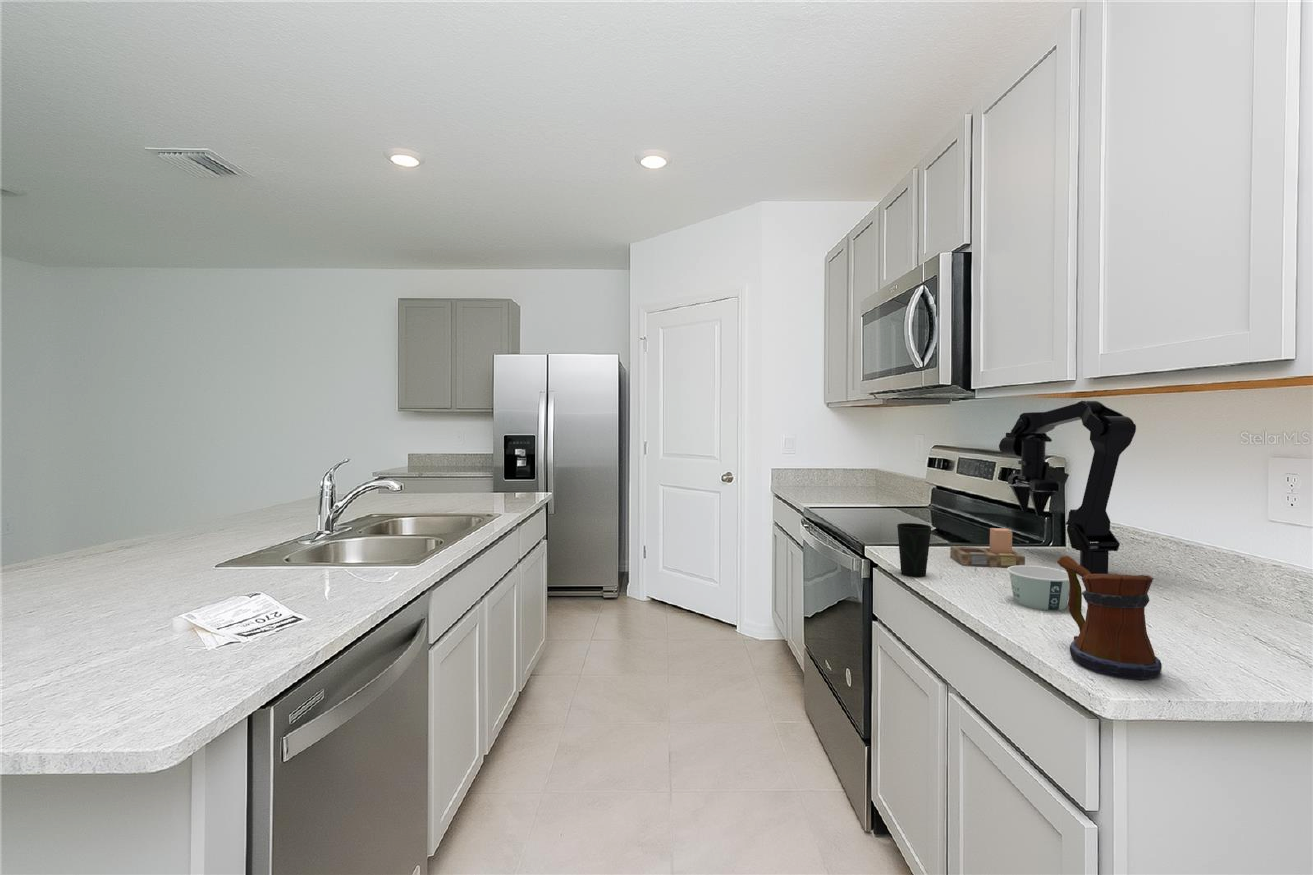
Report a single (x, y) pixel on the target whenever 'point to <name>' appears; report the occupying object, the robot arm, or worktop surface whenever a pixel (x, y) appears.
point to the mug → (1111, 623)
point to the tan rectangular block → (1000, 540)
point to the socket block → (985, 557)
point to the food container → (1040, 587)
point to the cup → (913, 548)
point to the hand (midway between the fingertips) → (1031, 513)
